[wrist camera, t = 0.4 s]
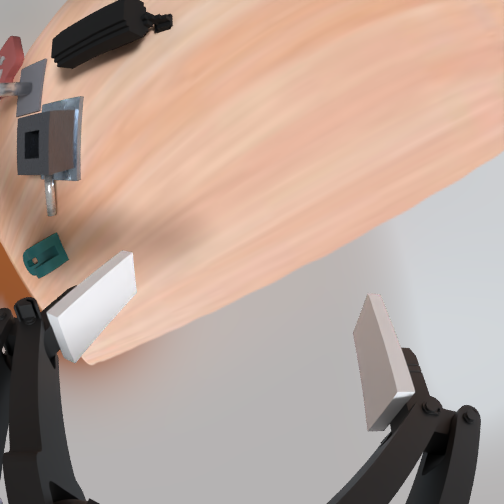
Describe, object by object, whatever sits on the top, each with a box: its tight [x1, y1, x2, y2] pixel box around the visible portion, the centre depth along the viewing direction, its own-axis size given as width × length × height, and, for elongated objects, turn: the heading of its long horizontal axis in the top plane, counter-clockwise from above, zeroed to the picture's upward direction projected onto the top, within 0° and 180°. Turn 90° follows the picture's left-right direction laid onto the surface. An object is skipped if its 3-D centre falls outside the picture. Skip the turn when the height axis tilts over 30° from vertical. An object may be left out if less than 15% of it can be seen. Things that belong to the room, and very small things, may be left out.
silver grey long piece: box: [0, 82, 33, 97], centre depth 30 cm, size 7×3×14 cm, turn 173°
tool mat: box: [16, 59, 47, 117], centre depth 37 cm, size 12×10×1 cm
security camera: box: [51, 0, 173, 69], centre depth 28 cm, size 7×18×10 cm, turn 95°
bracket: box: [23, 232, 69, 278], centre depth 50 cm, size 18×7×8 cm, turn 109°
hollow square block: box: [17, 96, 84, 216], centre depth 39 cm, size 22×12×8 cm, turn 173°
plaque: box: [0, 36, 24, 99], centre depth 34 cm, size 18×4×15 cm
